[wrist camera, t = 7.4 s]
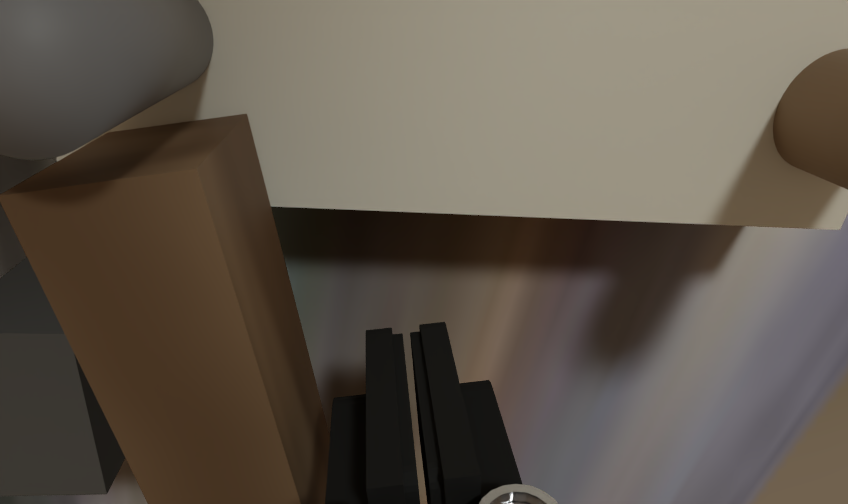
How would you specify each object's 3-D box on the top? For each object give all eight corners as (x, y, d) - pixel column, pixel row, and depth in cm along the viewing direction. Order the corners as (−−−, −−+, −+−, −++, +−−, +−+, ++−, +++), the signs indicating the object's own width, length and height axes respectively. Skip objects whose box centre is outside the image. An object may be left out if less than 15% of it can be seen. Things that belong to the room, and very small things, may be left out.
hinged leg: (247, 113, 10) (182, 184, 6) (344, 495, 14) (338, 661, 10) (107, 132, 10) (-34, 215, 6) (249, 510, 14) (211, 683, 10)
